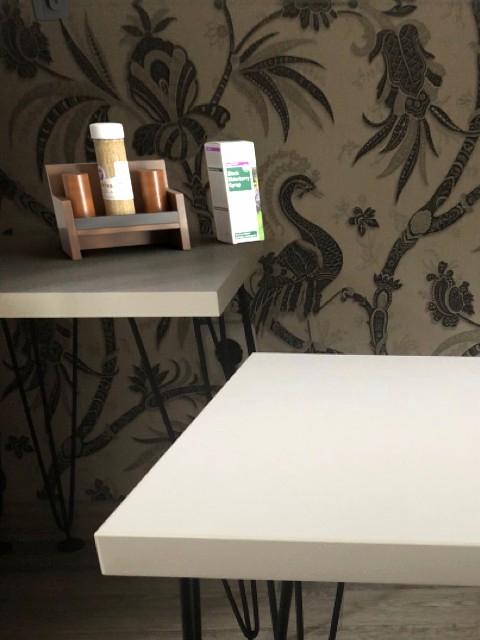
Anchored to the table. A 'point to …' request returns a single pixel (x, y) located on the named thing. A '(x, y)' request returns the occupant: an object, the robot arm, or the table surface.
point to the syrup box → (234, 191)
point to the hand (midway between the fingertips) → (52, 19)
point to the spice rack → (116, 230)
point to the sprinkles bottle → (113, 168)
